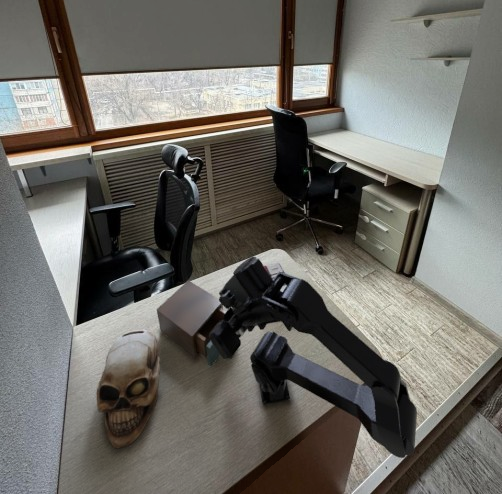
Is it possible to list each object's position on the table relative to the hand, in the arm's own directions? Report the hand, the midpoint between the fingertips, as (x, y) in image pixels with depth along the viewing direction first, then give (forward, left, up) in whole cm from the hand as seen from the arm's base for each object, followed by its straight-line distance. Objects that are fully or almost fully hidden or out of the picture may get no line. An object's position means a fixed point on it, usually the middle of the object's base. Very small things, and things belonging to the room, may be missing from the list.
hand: (225, 317), depth 67 cm
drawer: (+4, +5, -13) cm, 14 cm away
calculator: (+19, -17, -14) cm, 28 cm away
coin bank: (-5, +22, -14) cm, 27 cm away
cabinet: (+9, +10, -14) cm, 19 cm away
